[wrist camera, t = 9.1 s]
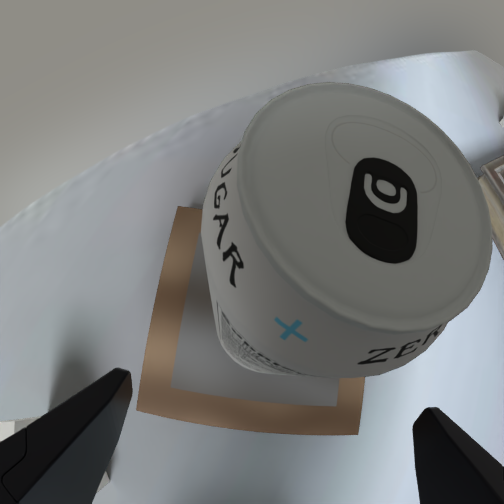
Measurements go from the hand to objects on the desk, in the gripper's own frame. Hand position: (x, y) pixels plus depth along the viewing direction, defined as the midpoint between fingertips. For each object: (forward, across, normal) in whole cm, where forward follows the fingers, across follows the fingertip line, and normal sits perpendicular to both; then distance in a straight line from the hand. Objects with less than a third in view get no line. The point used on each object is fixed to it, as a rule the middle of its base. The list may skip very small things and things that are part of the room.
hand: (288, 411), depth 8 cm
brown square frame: (+12, 0, +6) cm, 14 cm away
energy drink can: (+10, 0, +4) cm, 11 cm away
